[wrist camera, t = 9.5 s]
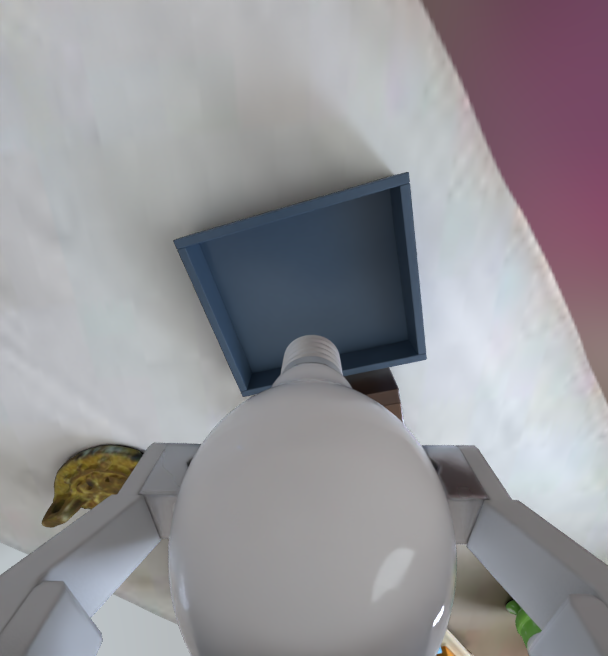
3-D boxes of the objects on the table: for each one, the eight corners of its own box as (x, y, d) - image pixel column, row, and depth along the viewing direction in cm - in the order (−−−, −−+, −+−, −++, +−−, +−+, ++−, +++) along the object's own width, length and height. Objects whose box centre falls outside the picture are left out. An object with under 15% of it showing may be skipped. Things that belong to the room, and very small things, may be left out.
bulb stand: (280, 382, 27) (275, 412, 23) (386, 361, 25) (398, 388, 22) (307, 455, 31) (306, 490, 27) (399, 440, 30) (411, 474, 26)
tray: (190, 234, 21) (172, 240, 18) (395, 174, 19) (409, 171, 16) (249, 376, 27) (242, 397, 24) (414, 341, 25) (427, 359, 22)
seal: (140, 421, 31) (44, 464, 34) (109, 454, 26) (1, 500, 29) (188, 482, 33) (94, 517, 36) (167, 521, 29) (62, 557, 32)
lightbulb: (228, 371, 15) (49, 743, 5) (285, 265, 12) (166, 571, 2) (332, 419, 16) (364, 798, 6) (403, 332, 13) (660, 723, 3)
